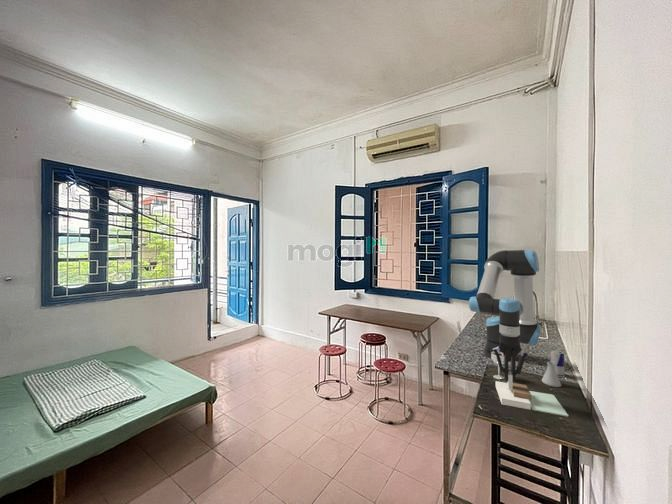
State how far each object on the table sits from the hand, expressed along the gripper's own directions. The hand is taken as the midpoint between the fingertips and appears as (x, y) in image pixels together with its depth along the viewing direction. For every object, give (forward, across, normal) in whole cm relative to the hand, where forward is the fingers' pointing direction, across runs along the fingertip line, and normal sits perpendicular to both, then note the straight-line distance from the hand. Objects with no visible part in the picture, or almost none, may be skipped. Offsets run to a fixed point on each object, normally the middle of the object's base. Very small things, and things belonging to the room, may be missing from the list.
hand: (509, 388), depth 116 cm
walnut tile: (+1, +4, 0) cm, 4 cm away
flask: (+4, +20, +21) cm, 30 cm away
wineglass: (+4, -2, +19) cm, 19 cm away
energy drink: (+4, +26, +33) cm, 43 cm away
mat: (+4, +12, 0) cm, 12 cm away
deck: (+4, +1, 0) cm, 4 cm away
